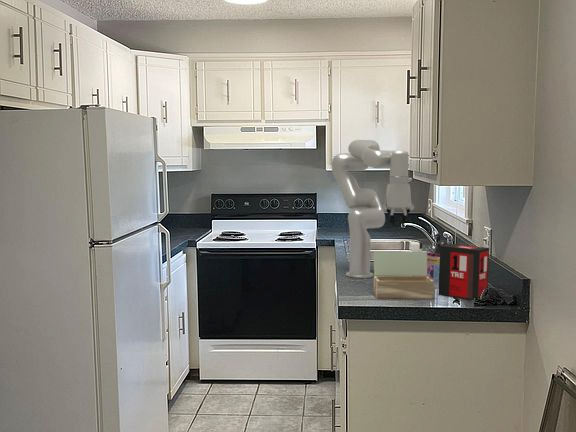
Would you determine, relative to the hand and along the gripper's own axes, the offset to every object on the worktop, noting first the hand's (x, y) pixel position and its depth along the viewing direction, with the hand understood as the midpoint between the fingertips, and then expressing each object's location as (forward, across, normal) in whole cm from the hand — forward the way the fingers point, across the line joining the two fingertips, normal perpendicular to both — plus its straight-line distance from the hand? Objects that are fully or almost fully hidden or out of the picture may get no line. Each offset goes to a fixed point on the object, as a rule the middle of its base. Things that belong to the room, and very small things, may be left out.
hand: (397, 224), depth 253 cm
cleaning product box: (+28, -24, +14) cm, 39 cm away
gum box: (+28, -19, -4) cm, 34 cm away
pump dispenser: (+27, -30, -40) cm, 57 cm away
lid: (+15, 0, +8) cm, 17 cm away
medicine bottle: (+27, -21, -57) cm, 67 cm away
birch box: (+27, 0, +14) cm, 31 cm away
